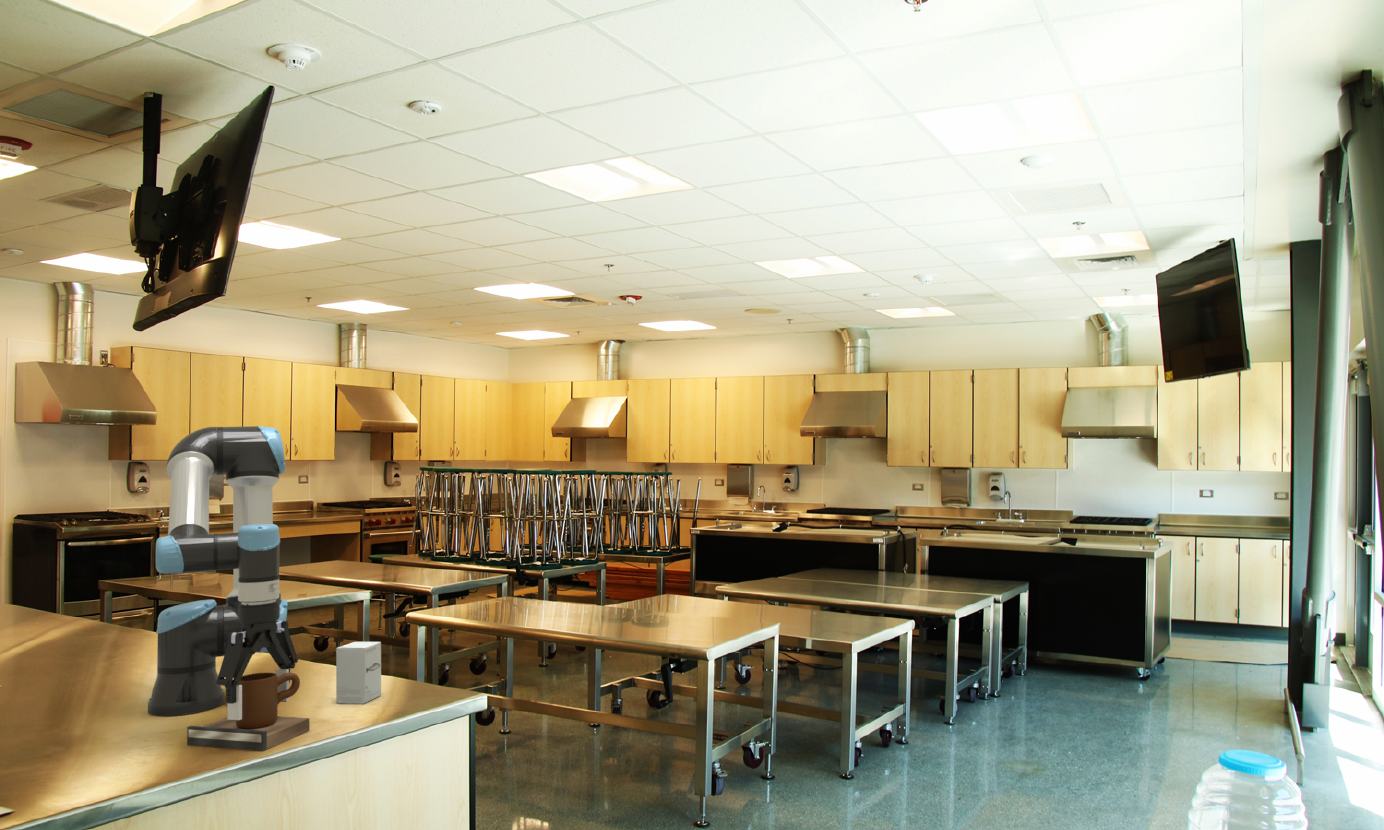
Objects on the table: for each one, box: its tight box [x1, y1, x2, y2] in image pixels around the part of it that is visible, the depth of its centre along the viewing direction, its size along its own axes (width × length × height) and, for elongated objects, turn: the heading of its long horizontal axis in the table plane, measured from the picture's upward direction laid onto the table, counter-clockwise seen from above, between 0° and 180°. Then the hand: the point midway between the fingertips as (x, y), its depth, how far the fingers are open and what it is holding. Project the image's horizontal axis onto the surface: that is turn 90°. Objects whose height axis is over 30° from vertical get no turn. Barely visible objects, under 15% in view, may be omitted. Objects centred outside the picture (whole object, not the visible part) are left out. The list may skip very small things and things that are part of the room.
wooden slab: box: [186, 715, 311, 752], centre depth 179 cm, size 18×13×4 cm
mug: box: [236, 672, 301, 729], centre depth 181 cm, size 12×8×9 cm, turn 127°
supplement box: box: [335, 641, 382, 705], centre depth 206 cm, size 7×7×13 cm
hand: (259, 710), depth 179 cm, fingers open, 12 cm apart
